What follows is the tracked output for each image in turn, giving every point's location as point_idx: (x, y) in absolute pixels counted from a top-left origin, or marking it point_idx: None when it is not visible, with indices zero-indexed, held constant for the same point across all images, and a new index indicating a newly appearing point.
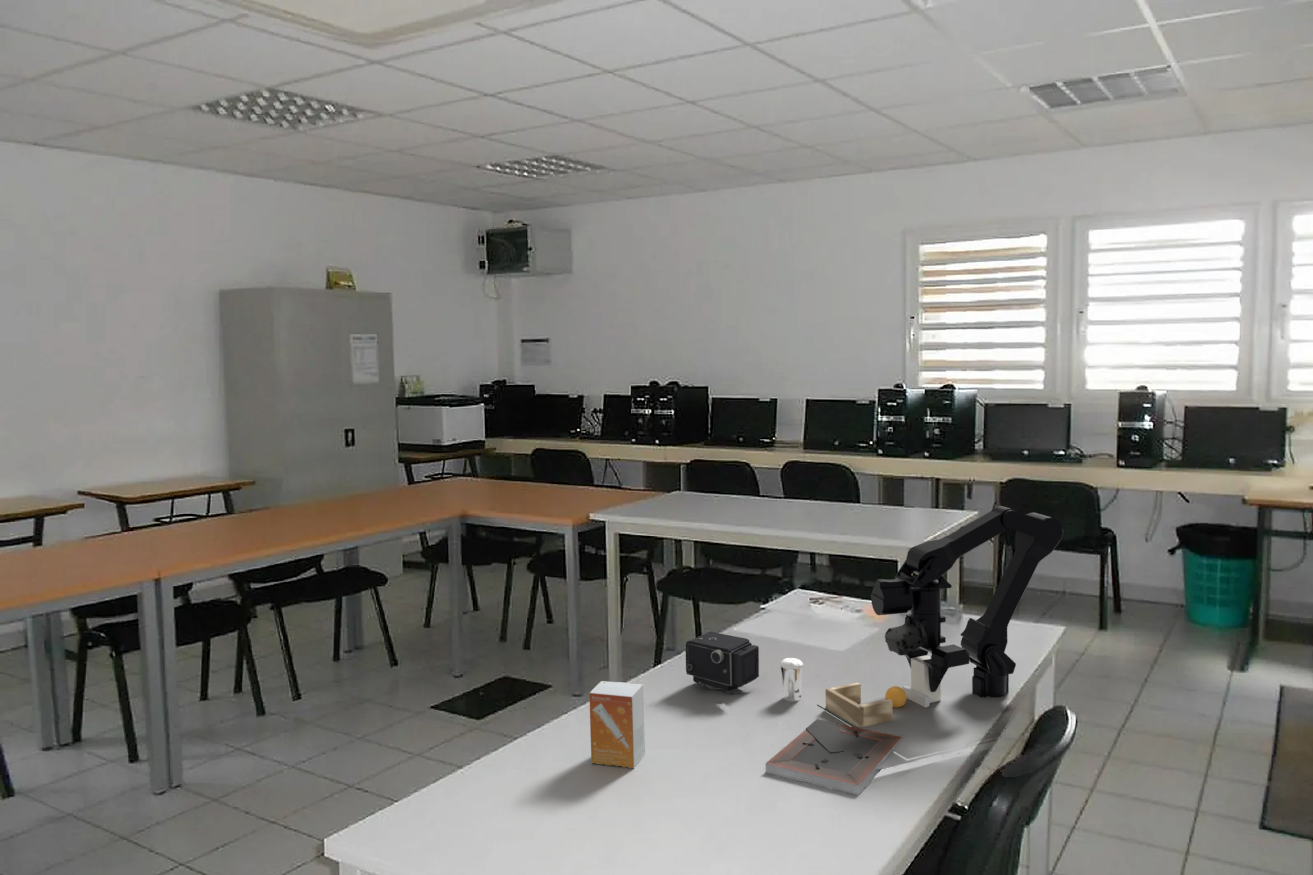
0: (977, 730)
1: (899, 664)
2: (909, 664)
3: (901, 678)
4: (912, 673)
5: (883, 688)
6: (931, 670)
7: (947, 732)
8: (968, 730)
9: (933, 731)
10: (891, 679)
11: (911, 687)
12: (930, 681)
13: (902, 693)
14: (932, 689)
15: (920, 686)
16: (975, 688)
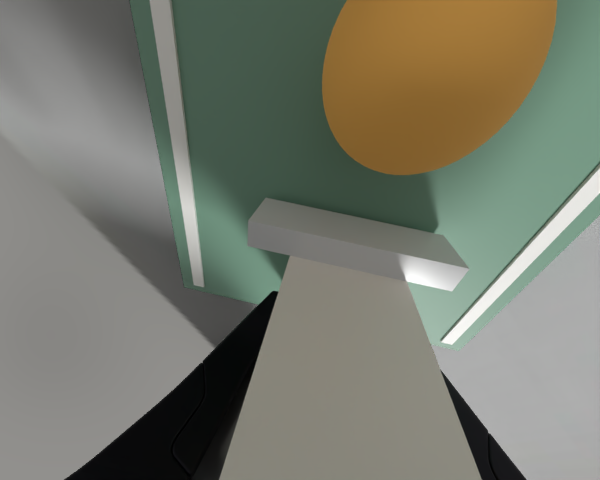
0: (83, 207)
1: (589, 429)
2: (521, 478)
3: (541, 372)
4: (422, 373)
5: (591, 283)
6: (143, 449)
7: (74, 97)
8: (86, 184)
9: (91, 41)
10: (580, 355)
11: (404, 282)
12: (247, 337)
13: (338, 79)
14: (263, 300)
15: (321, 288)
16: None
